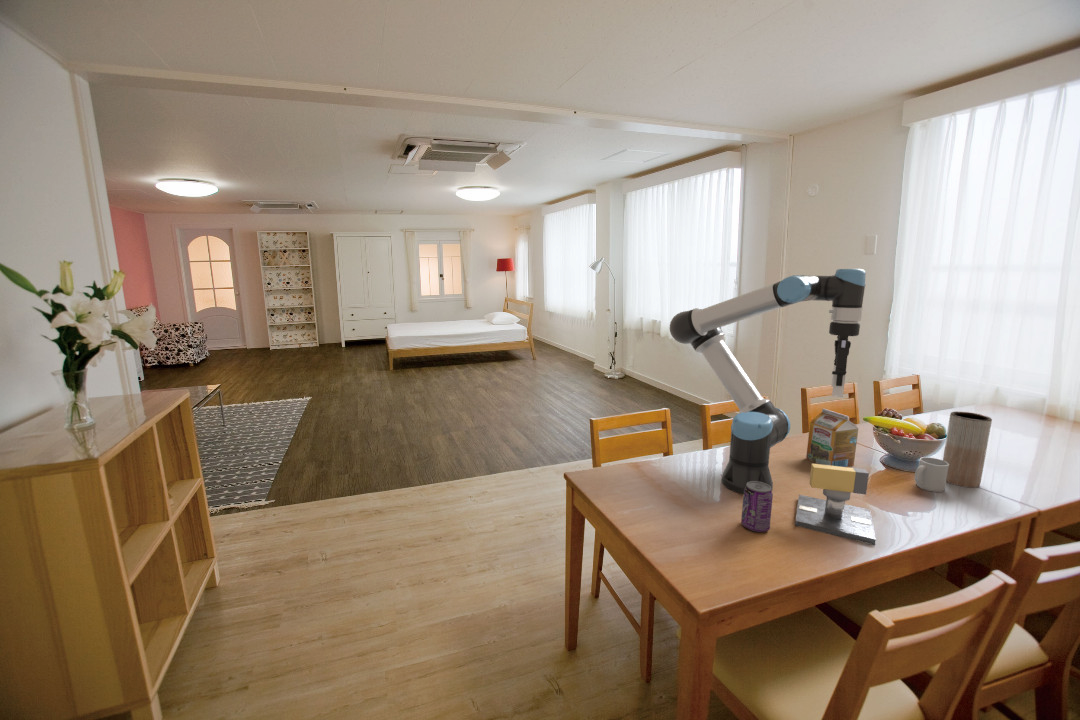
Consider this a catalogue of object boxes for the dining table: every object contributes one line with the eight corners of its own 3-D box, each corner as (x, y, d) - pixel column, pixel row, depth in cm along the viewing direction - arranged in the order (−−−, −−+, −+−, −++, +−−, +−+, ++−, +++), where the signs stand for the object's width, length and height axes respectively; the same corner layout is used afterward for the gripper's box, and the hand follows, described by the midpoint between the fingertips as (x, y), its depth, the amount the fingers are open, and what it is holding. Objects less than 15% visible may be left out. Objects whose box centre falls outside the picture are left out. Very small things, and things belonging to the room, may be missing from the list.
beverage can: (745, 517, 133) (748, 478, 131) (772, 526, 129) (776, 485, 127) (737, 528, 128) (740, 486, 126) (765, 537, 123) (769, 494, 121)
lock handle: (807, 487, 136) (810, 460, 134) (859, 493, 132) (863, 466, 130) (812, 497, 130) (815, 469, 128) (867, 504, 126) (871, 475, 124)
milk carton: (806, 458, 176) (811, 409, 172) (827, 455, 179) (833, 407, 175) (830, 469, 166) (837, 417, 162) (853, 466, 169) (860, 415, 165)
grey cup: (950, 491, 149) (955, 464, 148) (925, 494, 147) (929, 467, 145) (927, 481, 156) (931, 456, 154) (903, 484, 154) (906, 458, 152)
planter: (950, 486, 153) (962, 419, 149) (933, 473, 162) (943, 410, 158) (987, 489, 150) (1000, 421, 146) (967, 476, 160) (979, 412, 156)
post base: (795, 525, 129) (797, 501, 128) (798, 499, 144) (800, 477, 143) (874, 544, 120) (878, 519, 118) (869, 514, 135) (872, 491, 134)
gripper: (830, 317, 152) (822, 381, 155) (830, 325, 131) (822, 399, 134) (857, 318, 148) (849, 384, 152) (863, 326, 127) (853, 402, 131)
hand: (836, 391), depth 143 cm, fingers open, 13 cm apart
